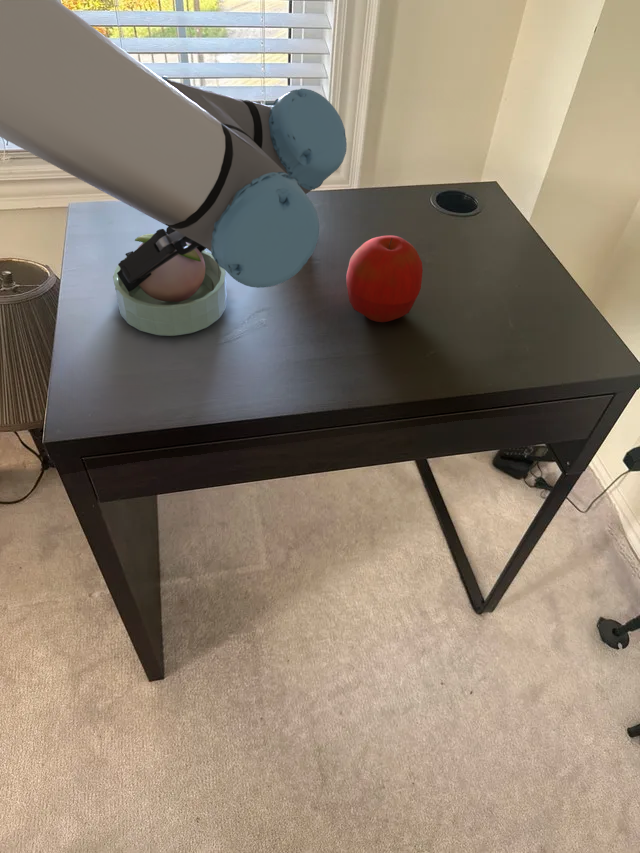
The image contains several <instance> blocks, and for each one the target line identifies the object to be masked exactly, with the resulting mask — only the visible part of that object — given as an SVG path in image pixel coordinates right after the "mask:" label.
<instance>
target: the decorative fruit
mask: <svg viewBox="0 0 640 853" xmlns="http://www.w3.org/2000/svg"><path fill="white" fill-rule="evenodd" d="M154 234H155V233H145V234H143V235H140V236H137V237H136V238H135V239H134V242H140V244H139V245H138V247H137V248H136V250H137V249H138V248H139V247H140V246H142V245H143V244H144V243H145V242H147V241H148V240H149V239H150V238H151V237H152V236H153V235H154ZM186 244H187V245H188V246H189V245H191V244H189V243H187V242H186ZM151 274H152V275H150V276H149V277H148V278H147V279H146V280H144V281H143V282H142V283H141V284H140V285H139V286H140V287H141V289H142V290H143V291H144V292H145V293H146V294H147V295H149V296H150V297H152V298H155V299H158V300H161V301H170V302H178V301H183V300H186V299H188V298H190V297H191V296H192V295H193V294H194V293H195V292H196V291H197V290H198V289H199V288H200V286H201V284H202V282H203V280H204V276H205V262H204V259H203V256H202V254H201V253H200V251H199V250H198V249H197V248H195V249H194V250H192V251H191V252H189V253H187V254H184V255H181V254H178V255H176V256H175V257H173V258H172V259H170V260H169V261H167V262H166V263H164V264H163V265H161V266H160V267H158V268H157V269H155V270H154V271H152V272H151Z"/></svg>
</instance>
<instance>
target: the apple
mask: <svg viewBox="0 0 640 853" xmlns="http://www.w3.org/2000/svg"><path fill="white" fill-rule="evenodd" d="M423 271H424V270H423V262H422V260H421V257H420V255H419V253H418V251H417V249H416V247H414V245H413V244H412V243H410V242H409V241H407V240H406V239H404V238H403V237H400V236H397V235H381V236H376V237H373V238H371V239H368V240H366V241H365V242H363V243H362V244H361V245H360V246H359V247H358V248H357V249H356V250H354V253H353V254H352V255H351V256H350V259H349V262H348V267H347V271H346V275H345V276H346V278H345V280H346V287H347V288H346V289H347V296H348V301H349V302H348V303H349V304H350V306H351V307H352V308H353V310H355V311H357V312H358V313H359V314H361V315H363V316H364V317H366V318H367V319H368V320H371V321H373V322H376V323H386V322H391V321H394V320H397V319H400V318H402V317H404V316H405V315H408V314H409V313H410V311H411V309H412V308H413V306H414V305H415V301H416V300H417V298H418V296H419V294H420V291H421V289H422V282H423Z"/></svg>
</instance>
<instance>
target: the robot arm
mask: <svg viewBox="0 0 640 853" xmlns="http://www.w3.org/2000/svg"><path fill="white" fill-rule="evenodd" d="M343 122H344V121H343V120H342V118H341V116H340V114H339V113H338V111H337V110H336V108H335V106H334V105H333V104H332V103H331V102H330V101H329V99H327V98H326V97H324V96H323V95H322V94H320V93H319V92H317V91H315V90H312V89H309V88H298V89H293V90H291V91H288V92H287V93H285V94H284V95H282V96H280V97H279V98H276V99H275V100H274V102H273V105H266V104H263V103H259V102H256V101H254V100H253V101H252V100H248V99H242V98H241V99H240V98H237V97H233V96H229V95H226V94H222V93H219V92H215V91H212V90H208V89H204V88H201V87H198V86H193V85H190V84H186V83H183V82H179V81H176V80H172V79H169V76H166V75H163V76H159V75H158V74H156V73H155V72H153V71H152V70H151V69H150V68H149V67H147V66H146V65H144V64H143V63H142V62H141V61H139V60H138V59H136V58H135V57H134V56H132V55H131V54H129V53H128V52H127V51H126V50H125V49H123V48H122V47H120V46H119V45H118V44H116V43H115V42H113V40H111V39H109V38H108V37H107V36H106V35H104V34H103V33H102V32H100V31H99V30H97V29H96V28H95V27H93V26H92V25H90V24H89V23H88V22H87V21H85V20H84V19H83V18H81V17H80V16H79V15H77V14H76V13H75V12H74V11H72V10H71V9H69V8H68V7H67V6H65V5H64V4H63V3H61V2H60V1H59V0H0V139H1V138H2V139H3V140H5V141H7V142H9V143H11V144H13V145H15V146H17V147H19V148H20V149H22V150H24V151H26V152H28V153H29V154H31V155H33V156H35V157H37V158H39V159H41V160H43V161H45V162H47V163H48V164H50V165H52V166H54V167H56V168H58V169H60V170H62V171H63V172H66V174H69V175H71V176H73V177H75V178H77V179H79V181H82V182H84V183H86V184H88V185H89V186H91V187H94V188H96V189H97V190H98V191H100V192H103V193H105V194H107V195H108V196H110V197H112V198H114V199H116V200H118V201H120V202H122V203H123V204H125V205H127V206H129V207H131V208H133V209H135V210H136V211H139V212H141V213H142V214H144V215H146V216H148V217H150V218H152V219H153V220H155V221H157V222H159V223H161V224H162V225H163V224H164V225H165V226H167V227H166V230H165V228H160V229H158V230H156V232H155V233H153V234H154V235H153V236H152V237H151V238H150V239H149V240H148V241H147V242H145V243H144V244H143V245H142V246H140V245H139V246H140V247H139V246H138V247H139V248H138V247H137V248H138V249H137V248H136V249H135V250H134V251H133V250H132V251H128V252H126V253H125V254H124V255H125V256H126V257H124V258H125V259H124V258H123V259H124V260H123V259H122V260H121V261H119V262H118V264H117V266H118V265H119V267H120V268H121V270H120V271H119V272H118V273H117V274H118V276H119V277H120V279H121V281H122V282H123V284H124V285H125V287H126V289H127V290H128V292H130V291H132V290H134V289H135V288H136V287H137V286H138V285H140V284H141V283H142V282H143V281H144V280H146V279H147V278H148V277H149V276H150V275H152V274H151V272H152V271H154V270H155V269H157V268H158V267H160V266H161V265H163V264H164V263H166V262H167V261H169V260H170V259H172V258H173V257H175V256H176V255H178V254H181V255H184V254H187V253H189V252H191V251H192V250H194V249H195V248H197V249H198V250H199V251H200V253H201V252H202V251H204V250H205V251H206V250H208V252H209V251H210V253H211V254H212V256H213V257H214V259H215V261H216V262H217V263H218V265H219V266H220V267H221V268H223V269H225V272H226V273H227V274H228V275H229V276H230V277H231V278H232V279H234V281H236V282H238V283H239V284H242V285H244V286H247V287H250V288H255V289H257V288H259V289H260V288H262V289H263V288H270V287H274V286H278V285H280V284H282V283H284V282H286V281H288V280H290V279H291V278H293V277H294V276H295V275H297V274H298V273H299V272H300V271H301V270H302V269H303V267H304V266H305V265H306V264H307V263H308V261H309V259H310V258H311V257H312V255H313V253H314V252H315V249H316V247H317V244H318V241H319V237H320V218H319V215H318V211H317V208H316V206H315V204H314V203H313V201H312V200H311V199H310V197H309V196H308V195H307V194H308V193H310V192H311V191H314V190H316V189H319V188H320V187H321V186H322V185H323V183H324V181H326V180H327V179H328V178H329V177H331V175H332V174H333V173H335V172H336V171H337V170H338V169H339V167H341V166H342V164H343V162H344V160H345V158H346V154H347V150H348V148H347V146H348V142H347V136H346V127H345V125H344V123H343ZM186 242H187V243H189V244H191V245H189V246H188V245H187V244H186Z"/></svg>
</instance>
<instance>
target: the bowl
mask: <svg viewBox="0 0 640 853" xmlns="http://www.w3.org/2000/svg"><path fill="white" fill-rule="evenodd" d="M201 254H202V256H203V259H204V262H205V276H204V280H203V282H202V284H201V286H200V288H199V289H198V290H197V291H196V292H195V293H194V294H193V295H192V296H191V297H190V298H188V299H186V300H183V301H178V302H170V301H161V300H158V299H155V298H152V297H150V296H149V295H147V294H146V293H145V292H144V291H143V290H142V289H141V287H140V286H139V285H138V286H137V287H136V288H135V289H134V290H132V291H130V292H128V290H127V289H126V287H125V285H124V284H123V282H122V281H121V279H120V277H119V276H118V274H117V273H118V272H119V271H120V270H121V268H120V267H119V265H118V264H117V266H116V267H115V269H114V271H113V275H112V280H113V285H114V291H115V293H116V301H117V305H118V309H119V314H120V316H121V317H122V318H123V319H124V321H125V322H126V323H127V324H128V325H130V326H131V327H133V328H134V329H137V330H138V331H141V332H144V333H146V334H147V333H148V334H152V335H155V336H168V337H169V336H170V337H175V336H176V337H177V336H183V335H189V334H193V333H196V332H199V331H201V330H203V329H206V328H208V327H210V326H211V325H213V324H214V323H215V322H217V321H218V320H219V319H220V318H221V317H222V315H223V313H224V312H225V311H226V309H227V303H228V291H227V290H228V289H227V271H226V270H225V269H223V268H221V267H220V266H219V265H218V263H217V262H216V261H215V259H214V257H213V256H212V253H211V252H209V251H206V249H205V250H204V251H202V252H201ZM125 258H126V257H124V258H123V259H122V260H124V259H125Z"/></svg>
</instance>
